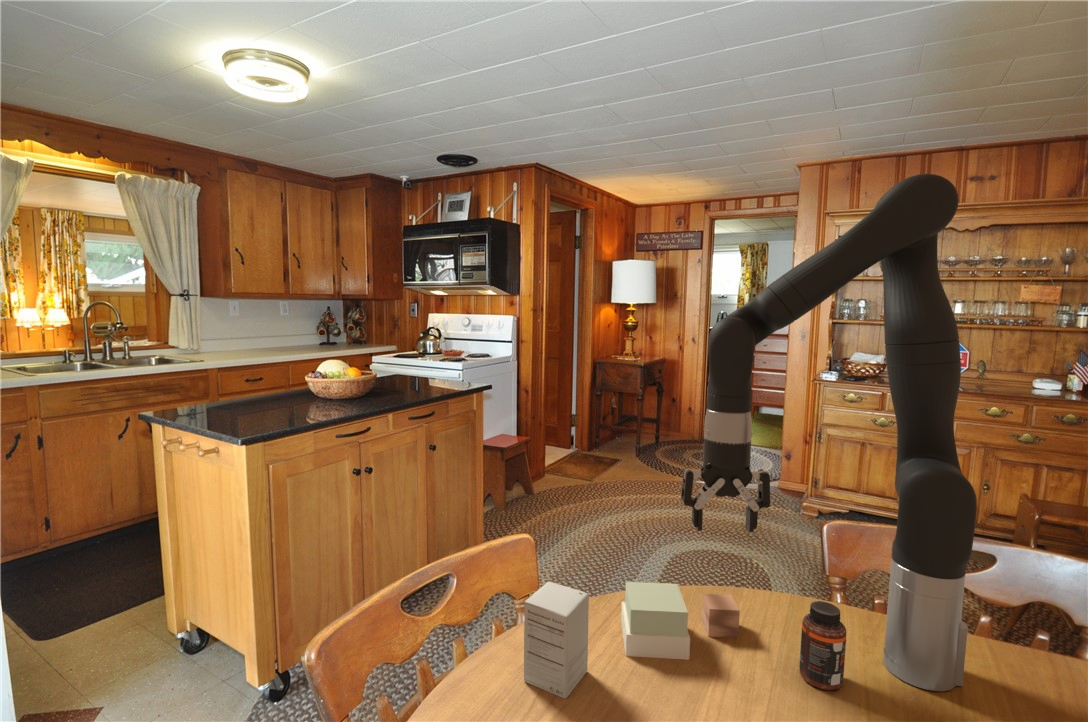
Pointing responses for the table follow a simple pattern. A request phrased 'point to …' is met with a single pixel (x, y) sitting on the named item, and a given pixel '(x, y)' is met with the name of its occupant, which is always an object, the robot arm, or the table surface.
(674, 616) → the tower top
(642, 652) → the tower base
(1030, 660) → the table surface
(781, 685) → the table surface
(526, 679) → the supplement box
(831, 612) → the supplement bottle
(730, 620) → the terracotta cube
